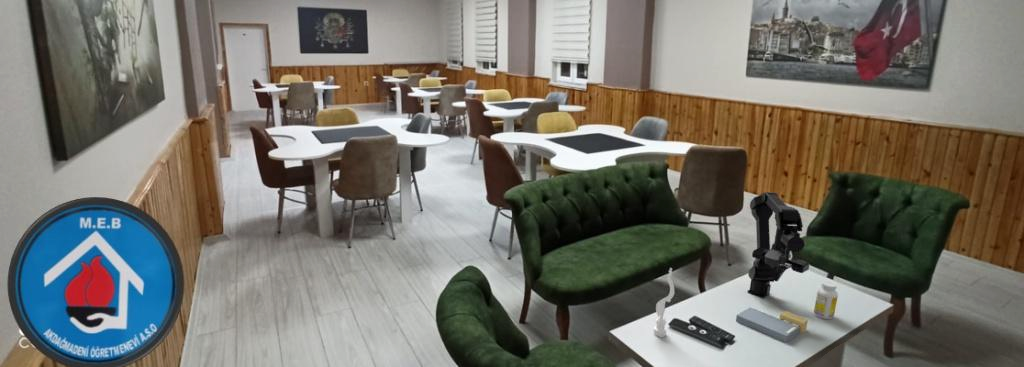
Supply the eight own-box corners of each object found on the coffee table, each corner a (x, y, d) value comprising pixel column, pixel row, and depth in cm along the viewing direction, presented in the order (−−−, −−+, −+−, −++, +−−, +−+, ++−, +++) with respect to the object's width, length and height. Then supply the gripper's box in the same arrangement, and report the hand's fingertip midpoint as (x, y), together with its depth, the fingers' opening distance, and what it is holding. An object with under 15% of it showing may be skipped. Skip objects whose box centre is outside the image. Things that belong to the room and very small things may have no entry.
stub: (778, 324, 201) (780, 314, 200) (783, 320, 203) (785, 310, 202) (801, 333, 195) (803, 323, 194) (806, 329, 198) (808, 319, 197)
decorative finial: (650, 332, 192) (657, 265, 186) (657, 328, 195) (665, 262, 188) (664, 339, 188) (672, 271, 181) (671, 336, 190) (680, 268, 184)
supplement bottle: (831, 313, 210) (838, 281, 207) (835, 321, 204) (841, 289, 201) (811, 309, 213) (817, 278, 209) (814, 317, 206) (821, 286, 203)
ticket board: (735, 320, 202) (736, 314, 201) (749, 312, 208) (750, 306, 208) (785, 342, 189) (786, 335, 188) (798, 333, 195) (799, 326, 195)
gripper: (747, 238, 206) (741, 277, 210) (799, 254, 192) (792, 296, 196) (762, 232, 213) (756, 270, 217) (813, 247, 199) (805, 287, 203)
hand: (776, 281), depth 208 cm, fingers closed
